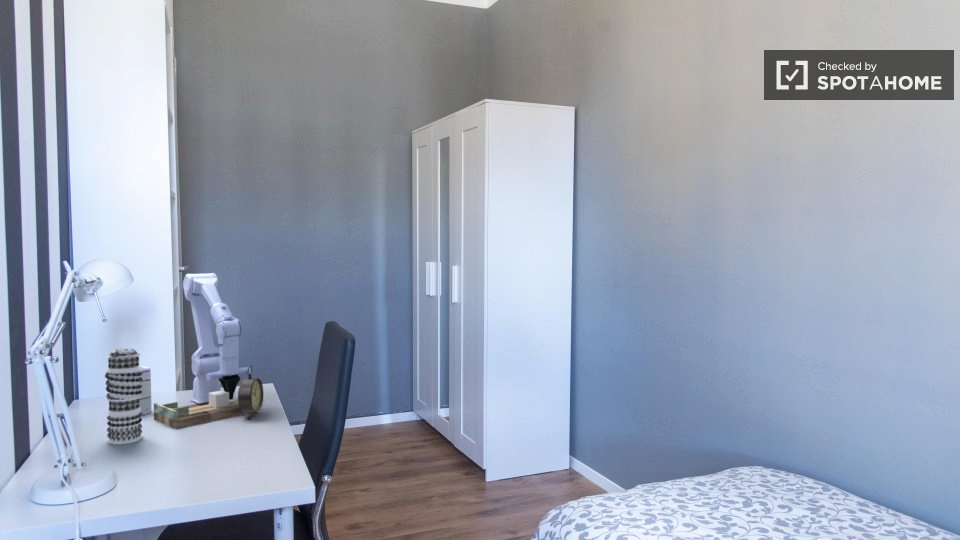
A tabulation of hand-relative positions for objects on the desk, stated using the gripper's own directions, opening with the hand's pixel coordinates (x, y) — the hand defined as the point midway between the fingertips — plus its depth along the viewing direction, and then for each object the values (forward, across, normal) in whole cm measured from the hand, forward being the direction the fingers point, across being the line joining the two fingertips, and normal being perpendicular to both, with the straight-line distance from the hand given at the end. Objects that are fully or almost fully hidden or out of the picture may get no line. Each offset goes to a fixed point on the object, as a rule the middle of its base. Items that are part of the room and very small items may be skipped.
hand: (229, 398), depth 213 cm
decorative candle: (+4, -35, -7) cm, 36 cm away
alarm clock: (+4, +1, -11) cm, 11 cm away
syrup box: (+4, -21, +18) cm, 28 cm away
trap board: (+4, -9, 0) cm, 10 cm away
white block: (+1, -4, 0) cm, 4 cm away
